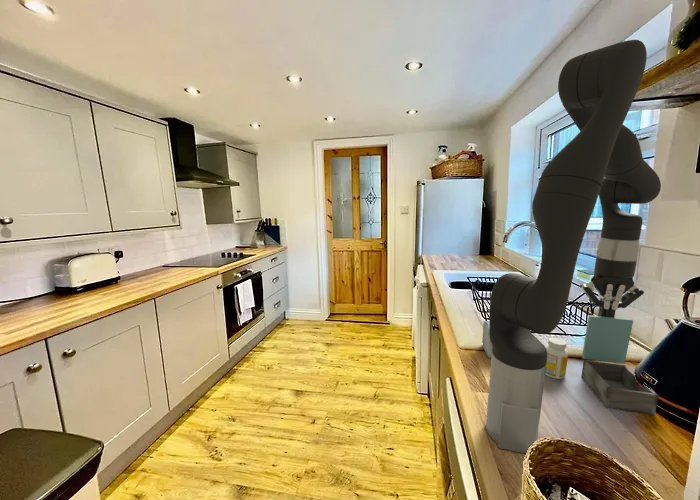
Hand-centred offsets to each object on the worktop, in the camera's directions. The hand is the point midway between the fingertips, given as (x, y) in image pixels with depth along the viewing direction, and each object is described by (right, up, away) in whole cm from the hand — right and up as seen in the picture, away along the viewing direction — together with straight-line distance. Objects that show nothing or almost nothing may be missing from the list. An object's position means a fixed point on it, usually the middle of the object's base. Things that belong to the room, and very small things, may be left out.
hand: (605, 321), depth 76 cm
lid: (0, -5, -1) cm, 5 cm away
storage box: (-2, -17, -5) cm, 17 cm away
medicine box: (-22, -14, +16) cm, 30 cm away
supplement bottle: (-11, -15, +4) cm, 19 cm away
